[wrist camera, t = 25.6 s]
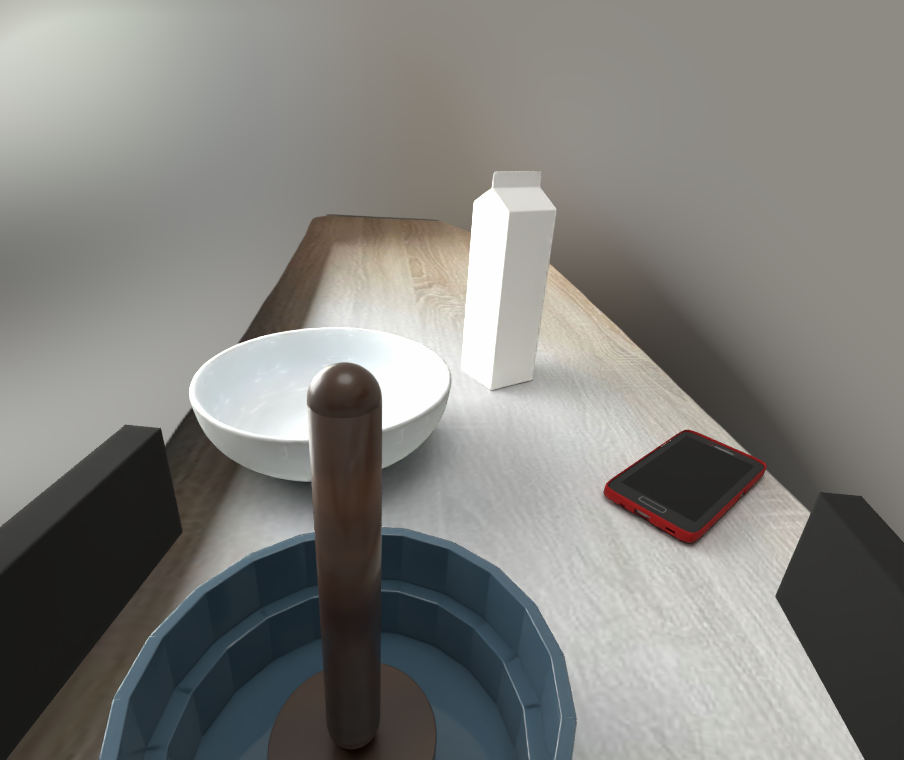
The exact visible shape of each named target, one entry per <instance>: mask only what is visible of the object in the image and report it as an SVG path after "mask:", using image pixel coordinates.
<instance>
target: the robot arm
mask: <svg viewBox="0 0 904 760" xmlns="http://www.w3.org/2000/svg"><path fill="white" fill-rule="evenodd" d="M181 533H182V527H181V522H180V517H179V512H178V508H177V503H176V498H175V493H174V488H173V484H172V479H171V474H170V469H169V464H168V460H167V455H166V450H165V445H164V440H163V436H162V431H161V428H153V427H143V426H133V425H124V426H123V427H122V428H121V429H120V430H118V431H117V432H116V433H115V434H113V435H112V436H111V437H110V438H109V439H107V440H106V441H105V442H104V443H103V444H101V445H100V446H99V447H98V448H96V449H95V450H94V451H93V452H91V453H90V454H89V455H88V456H87V457H85V458H84V459H83V460H82V461H80V462H79V463H78V464H77V465H75V466H74V467H73V468H72V469H71V470H69V471H68V472H67V473H66V474H65V475H63V476H62V477H61V478H60V479H58V480H57V481H56V482H55V483H53V484H52V485H51V486H50V487H49V488H47V489H46V490H45V491H44V492H42V493H41V494H40V495H39V496H38V497H36V498H35V499H34V500H33V501H31V502H30V503H29V504H28V505H27V506H25V507H24V508H23V509H22V510H20V511H19V512H18V513H17V514H16V515H14V516H13V517H12V518H11V519H10V520H8V521H7V522H6V523H5V524H3V525H2V526H1V527H0V760H6V759H7V758H8V756H9V755H10V754H11V752H12V751H13V750H14V748H15V747H16V746H17V745H18V743H19V742H20V741H21V739H22V738H23V737H24V736H25V734H26V733H27V732H28V730H29V729H30V728H31V727H32V725H33V724H34V723H35V721H36V720H37V719H38V718H39V716H40V715H41V714H42V712H43V711H44V710H45V709H46V707H47V706H48V705H49V703H50V702H51V701H52V700H53V698H54V697H55V696H56V694H57V693H58V692H59V691H60V689H61V688H62V687H63V685H64V684H65V683H66V682H67V680H68V679H69V678H70V676H71V675H72V674H73V672H74V671H75V670H76V669H77V667H78V666H79V665H80V663H81V662H82V661H83V660H84V658H85V657H86V656H87V654H88V653H89V652H90V651H91V649H92V648H93V647H94V645H95V644H96V643H97V642H98V640H99V639H100V638H101V636H102V635H103V634H104V633H105V631H106V630H107V629H108V627H109V626H110V625H111V624H112V622H113V621H114V620H115V618H116V617H117V616H118V615H119V613H120V612H121V611H122V609H123V608H124V607H125V605H126V604H127V603H128V602H129V600H130V599H131V598H132V596H133V595H134V594H135V593H136V591H137V590H138V589H139V587H140V586H141V585H142V584H143V582H144V581H145V580H146V578H147V577H148V576H149V575H150V573H151V572H152V571H153V569H154V568H155V567H156V566H157V564H158V563H159V562H160V560H161V559H162V558H163V557H164V555H165V554H166V553H167V551H168V550H169V549H170V548H171V546H172V545H173V544H174V542H175V541H176V540H177V538H178V537H179V536H180V535H181ZM775 597H776V599H777V600H778V602H779V604H780V606H781V608H782V609H783V611H784V613H785V615H786V617H787V619H788V620H789V622H790V624H791V626H792V628H793V630H794V631H795V633H796V635H797V637H798V639H799V641H800V642H801V644H802V646H803V648H804V650H805V651H806V653H807V655H808V657H809V659H810V661H811V662H812V664H813V666H814V668H815V670H816V672H817V673H818V675H819V677H820V679H821V681H822V683H823V684H824V686H825V688H826V690H827V692H828V693H829V695H830V697H831V699H832V701H833V703H834V704H835V706H836V708H837V710H838V712H839V714H840V715H841V717H842V719H843V721H844V723H845V725H846V726H847V728H848V730H849V732H850V734H851V735H852V737H853V739H854V741H855V743H856V745H857V746H858V748H859V750H860V752H861V754H862V756H863V757H864V759H865V760H904V542H903V541H902V540H901V539H900V538H899V537H898V536H897V535H896V534H895V533H894V531H893V530H892V529H891V528H890V527H889V526H888V525H887V524H886V523H885V522H884V521H883V519H882V518H881V517H880V516H879V515H878V514H877V513H876V512H875V511H874V510H873V508H872V507H871V506H870V505H869V504H868V503H867V502H866V501H865V500H864V499H863V498H862V496H854V495H844V494H833V493H823V492H820V493H819V495H818V498H817V500H816V502H815V505H814V507H813V510H812V512H811V514H810V516H809V519H808V521H807V523H806V526H805V528H804V530H803V533H802V535H801V537H800V540H799V542H798V544H797V547H796V549H795V551H794V554H793V556H792V558H791V561H790V563H789V565H788V568H787V570H786V572H785V575H784V577H783V579H782V582H781V584H780V586H779V589H778V591H777V593H776V596H775Z"/></svg>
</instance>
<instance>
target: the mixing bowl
mask: <svg viewBox="0 0 904 760" xmlns="http://www.w3.org/2000/svg"><path fill="white" fill-rule="evenodd" d="M381 663H384V664H387V665H390V666H392V667H394V668H397V669H399V670H400V671H402V672H404V673H405V674H407V675H408V676H409V677H410V678H411V679H413V680H414V681H415V682H416V683H417V684H418V686H419V687H420V688H421V689H422V691H423V692H424V694H425V695H426V697H427V699H428V701H429V703H430V705H431V708H432V710H433V713H434V718H435V722H436V732H437V739H436V754H435V760H572V756H573V748H574V740H575V732H576V725H577V721H576V719H577V718H576V713H575V708H574V703H573V698H572V692H571V687H570V682H569V677H568V672H567V667H566V662H565V657H564V655H563V652H562V651H561V649H560V647H559V645H558V643H557V642H556V640H555V638H554V636H553V634H552V633H551V631H550V629H549V627H548V625H547V624H546V622H545V620H544V618H543V616H542V614H541V613H540V611H539V609H538V607H537V605H536V604H535V603H534V602H533V601H532V600H531V599H530V598H529V597H528V596H527V595H526V594H525V593H524V592H523V591H522V590H521V589H520V588H519V587H518V586H517V585H516V584H515V583H514V582H513V581H512V580H511V579H510V578H509V577H508V576H507V575H506V574H505V573H504V572H503V571H502V570H501V569H500V568H498V567H497V566H495V565H493V564H492V563H490V562H488V561H486V560H485V559H483V558H481V557H479V556H477V555H476V554H474V553H472V552H470V551H469V550H467V549H465V548H463V547H462V546H460V545H458V544H456V543H453V542H452V541H448V540H445V539H441V538H438V537H434V536H430V535H427V534H423V533H420V532H416V531H413V530H409V529H404V528H385V527H382V541H381ZM322 670H323V658H322V642H321V626H320V610H319V594H318V578H317V562H316V546H315V532H313V533H307V534H302V535H298V536H295V537H293V538H290V539H287V540H285V541H282V542H280V543H277V544H274V545H272V546H269V547H266V548H264V549H261V550H259V551H256V552H253V553H251V554H249V555H247V556H245V557H244V558H242V559H241V560H239V561H237V562H236V563H234V564H233V565H231V566H230V567H228V568H227V569H225V570H224V571H222V572H220V573H219V574H217V575H216V576H214V577H213V578H211V579H210V580H208V581H206V582H205V583H203V584H202V585H200V586H199V587H198V588H197V589H195V590H194V591H193V592H192V593H191V594H190V595H189V596H188V597H187V598H186V599H185V600H184V601H183V602H182V603H181V604H180V605H179V606H178V607H177V608H176V609H175V610H174V611H173V612H172V613H171V614H170V616H169V617H168V618H167V619H166V620H165V621H164V622H163V623H162V624H161V625H160V626H159V627H158V628H157V629H156V630H155V631H154V632H153V633H152V634H151V635H150V636H149V637H148V639H147V641H146V643H145V644H144V646H143V648H142V649H141V651H140V653H139V655H138V656H137V658H136V660H135V662H134V663H133V665H132V667H131V668H130V670H129V672H128V674H127V675H126V677H125V679H124V681H123V682H122V684H121V686H120V687H119V689H118V691H117V693H116V694H115V696H114V698H113V701H112V705H111V709H110V714H109V718H108V722H107V726H106V731H105V735H104V739H103V744H102V748H101V752H100V757H99V760H268V759H267V757H268V744H269V738H270V734H271V731H272V728H273V724H274V722H275V720H276V718H277V715H278V713H279V712H280V710H281V708H282V707H283V705H284V703H285V702H286V701H287V699H288V698H289V697H290V695H291V694H292V693H293V692H294V691H295V690H296V689H297V688H298V687H299V686H300V685H301V684H303V683H304V682H305V681H306V680H307V679H309V678H310V677H312V676H313V675H315V674H316V673H318V672H320V671H322Z"/></svg>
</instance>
